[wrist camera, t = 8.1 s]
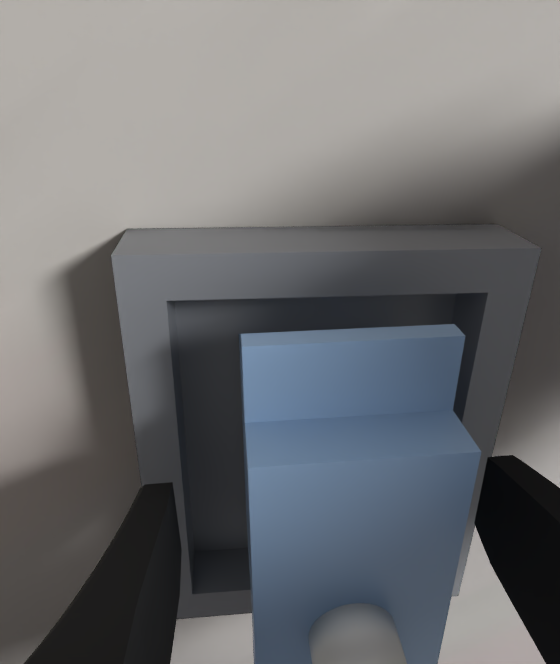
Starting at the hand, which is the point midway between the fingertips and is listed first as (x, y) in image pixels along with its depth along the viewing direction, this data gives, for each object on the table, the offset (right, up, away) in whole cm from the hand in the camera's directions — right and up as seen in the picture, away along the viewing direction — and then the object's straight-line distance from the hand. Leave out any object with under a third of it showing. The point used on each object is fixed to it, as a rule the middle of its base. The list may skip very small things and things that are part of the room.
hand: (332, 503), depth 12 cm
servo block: (0, +1, +3) cm, 3 cm away
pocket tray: (0, +1, +3) cm, 3 cm away
